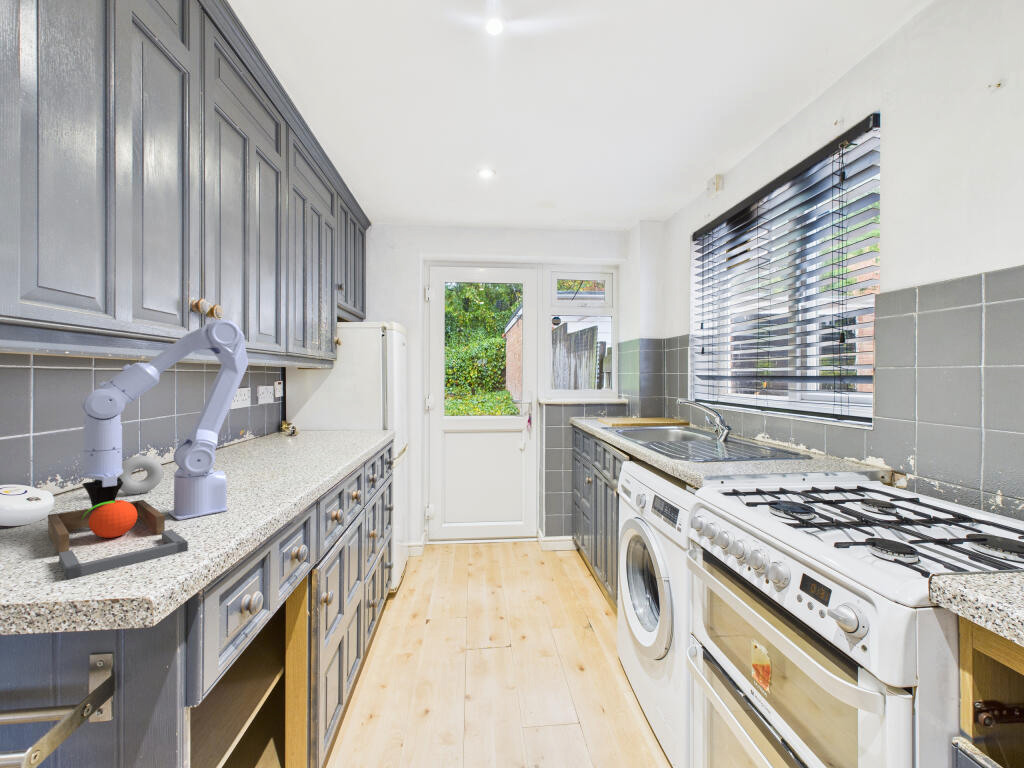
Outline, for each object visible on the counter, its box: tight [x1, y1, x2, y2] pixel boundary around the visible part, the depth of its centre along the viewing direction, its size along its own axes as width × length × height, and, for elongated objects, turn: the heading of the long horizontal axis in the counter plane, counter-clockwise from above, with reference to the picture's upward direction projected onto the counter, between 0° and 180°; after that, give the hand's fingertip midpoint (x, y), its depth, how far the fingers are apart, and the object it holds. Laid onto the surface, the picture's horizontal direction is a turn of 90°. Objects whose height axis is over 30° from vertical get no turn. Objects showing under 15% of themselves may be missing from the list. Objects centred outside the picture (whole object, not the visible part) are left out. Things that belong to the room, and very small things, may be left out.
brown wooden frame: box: [47, 499, 166, 555], centre depth 86 cm, size 14×17×4 cm
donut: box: [117, 455, 164, 495], centre depth 115 cm, size 10×4×10 cm, turn 138°
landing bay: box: [58, 529, 189, 580], centre depth 75 cm, size 15×10×2 cm, turn 141°
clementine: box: [82, 499, 138, 539], centre depth 83 cm, size 8×7×7 cm
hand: (102, 516), depth 88 cm, fingers closed
